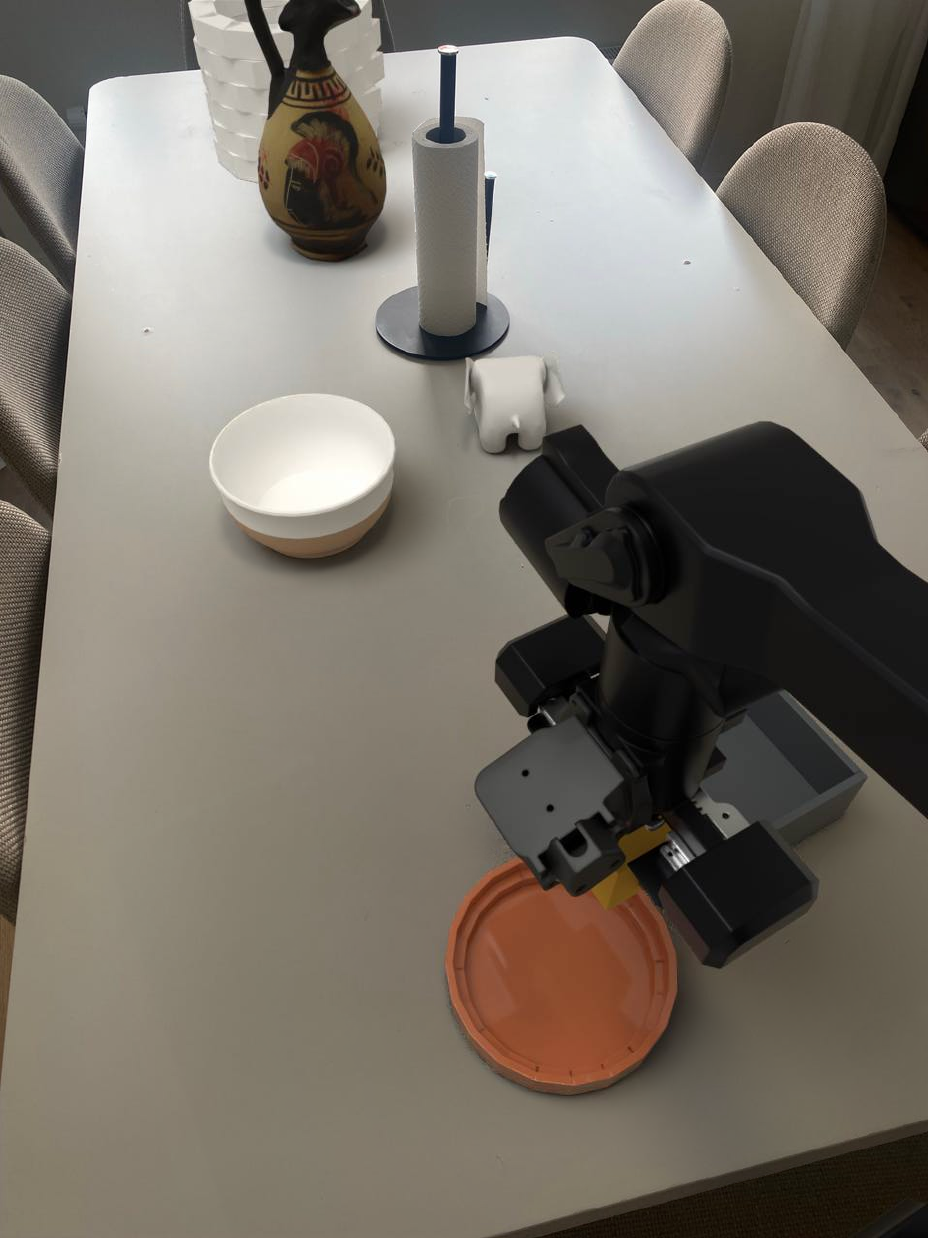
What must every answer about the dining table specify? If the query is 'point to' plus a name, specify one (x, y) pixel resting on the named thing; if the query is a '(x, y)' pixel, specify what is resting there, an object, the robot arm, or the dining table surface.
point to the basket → (245, 76)
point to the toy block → (623, 879)
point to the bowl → (305, 472)
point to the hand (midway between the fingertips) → (619, 844)
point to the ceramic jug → (316, 138)
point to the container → (784, 770)
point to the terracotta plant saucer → (558, 981)
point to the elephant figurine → (512, 397)
